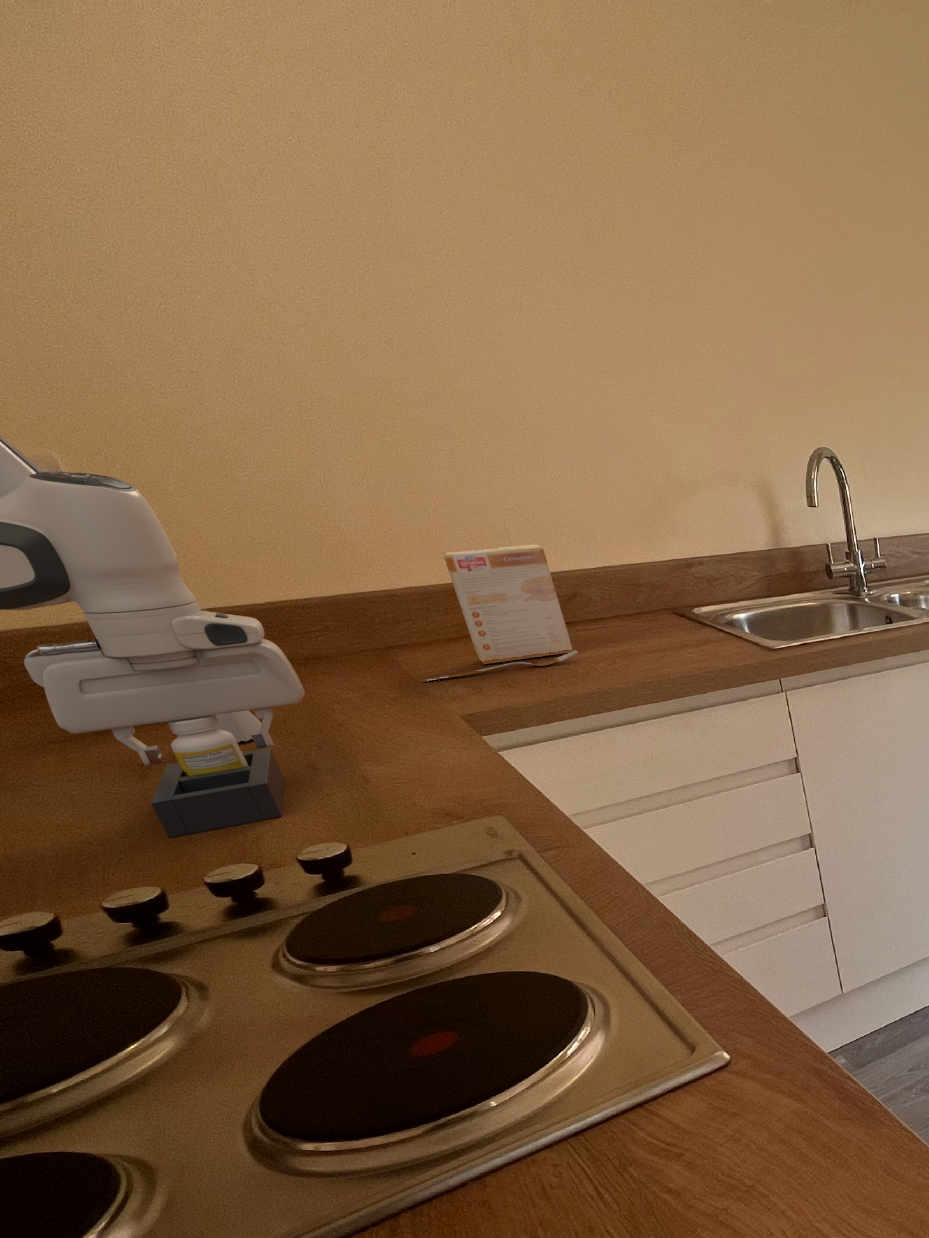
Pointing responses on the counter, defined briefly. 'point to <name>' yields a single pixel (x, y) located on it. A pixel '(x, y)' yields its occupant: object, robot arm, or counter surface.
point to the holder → (220, 796)
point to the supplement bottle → (204, 746)
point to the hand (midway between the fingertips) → (211, 754)
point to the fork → (522, 663)
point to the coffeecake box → (508, 601)
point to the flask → (239, 724)
